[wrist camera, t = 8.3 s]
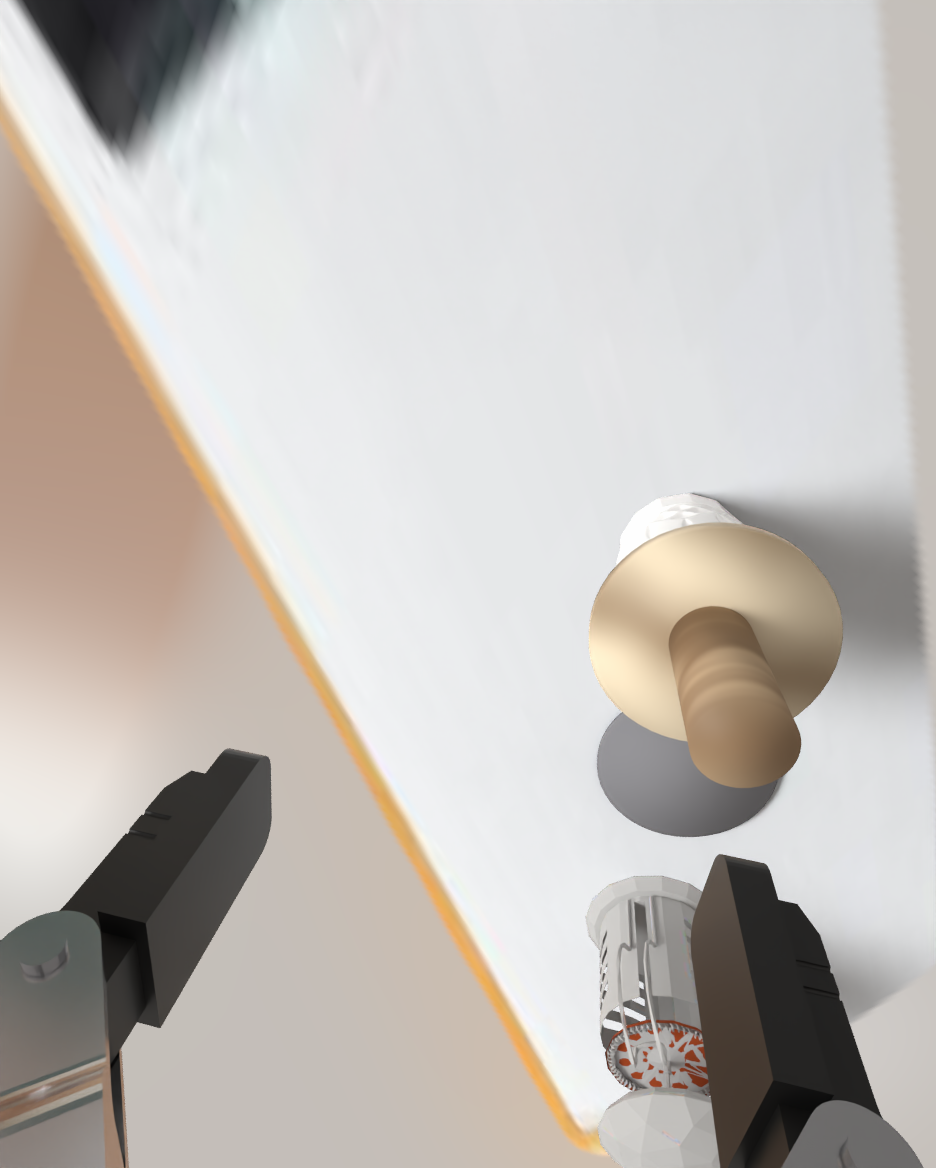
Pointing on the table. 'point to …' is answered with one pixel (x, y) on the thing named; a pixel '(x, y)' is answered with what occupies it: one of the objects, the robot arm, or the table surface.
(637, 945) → the french press
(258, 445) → the table surface
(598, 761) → the mat
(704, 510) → the white cup
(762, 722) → the lid
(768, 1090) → the robot arm
